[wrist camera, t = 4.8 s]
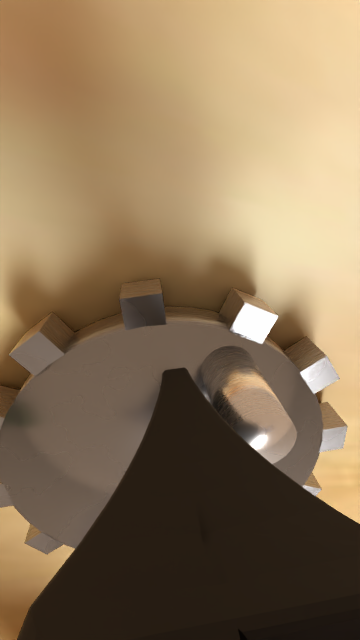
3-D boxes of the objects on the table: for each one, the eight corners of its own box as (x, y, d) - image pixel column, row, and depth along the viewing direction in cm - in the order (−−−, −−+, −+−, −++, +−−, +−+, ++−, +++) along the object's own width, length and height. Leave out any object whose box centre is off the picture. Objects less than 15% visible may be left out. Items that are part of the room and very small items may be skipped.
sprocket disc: (231, 553, 19) (259, 668, 15) (-42, 516, 15) (-122, 663, 11) (393, 354, 14) (517, 440, 9) (34, 205, 10) (-66, 227, 5)
